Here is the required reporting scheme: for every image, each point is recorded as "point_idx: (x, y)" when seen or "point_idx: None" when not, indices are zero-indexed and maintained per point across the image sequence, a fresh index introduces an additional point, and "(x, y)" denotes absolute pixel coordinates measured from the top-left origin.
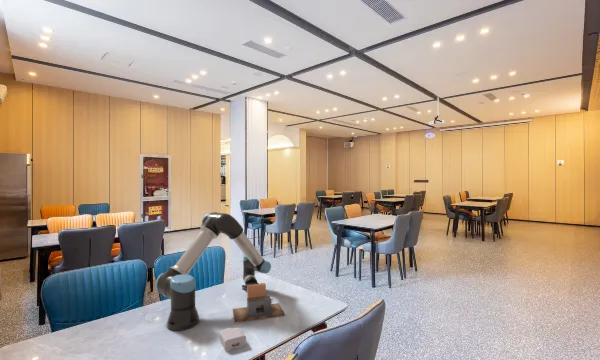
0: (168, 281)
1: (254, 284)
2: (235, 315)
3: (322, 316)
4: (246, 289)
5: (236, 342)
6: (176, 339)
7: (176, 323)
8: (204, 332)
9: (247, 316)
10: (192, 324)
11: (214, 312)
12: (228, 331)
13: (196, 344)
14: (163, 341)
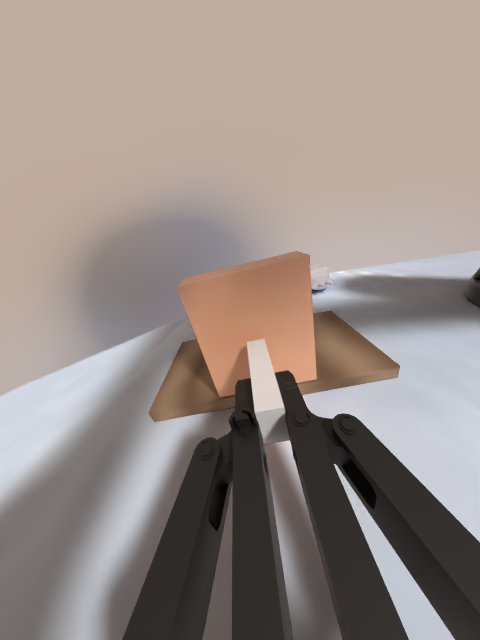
0: None
1: (253, 267)
2: (341, 324)
3: (111, 349)
4: (431, 508)
5: None
6: (443, 272)
7: None
8: (392, 290)
9: None
10: (468, 284)
11: None
12: (312, 268)
13: (372, 275)
14: (471, 266)
